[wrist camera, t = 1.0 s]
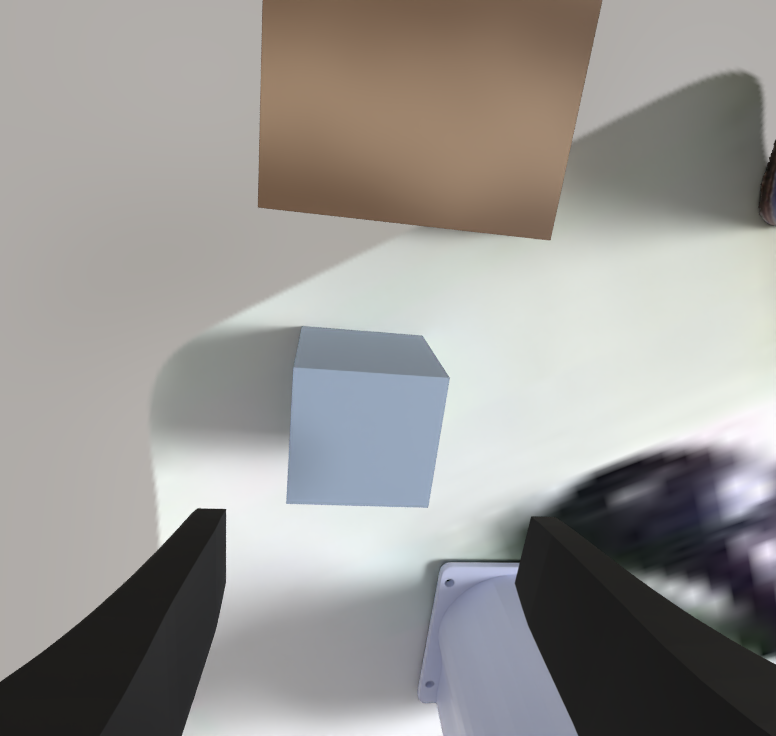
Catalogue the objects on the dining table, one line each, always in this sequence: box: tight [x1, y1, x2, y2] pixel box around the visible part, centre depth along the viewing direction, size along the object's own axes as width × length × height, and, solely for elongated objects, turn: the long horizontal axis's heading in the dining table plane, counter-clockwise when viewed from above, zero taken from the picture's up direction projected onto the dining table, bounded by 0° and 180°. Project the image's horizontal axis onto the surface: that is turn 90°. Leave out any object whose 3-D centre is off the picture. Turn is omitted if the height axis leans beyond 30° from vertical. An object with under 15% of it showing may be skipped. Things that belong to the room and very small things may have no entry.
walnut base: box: [258, 0, 602, 240], centre depth 15 cm, size 12×10×2 cm
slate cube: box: [286, 326, 450, 508], centre depth 18 cm, size 5×5×5 cm
